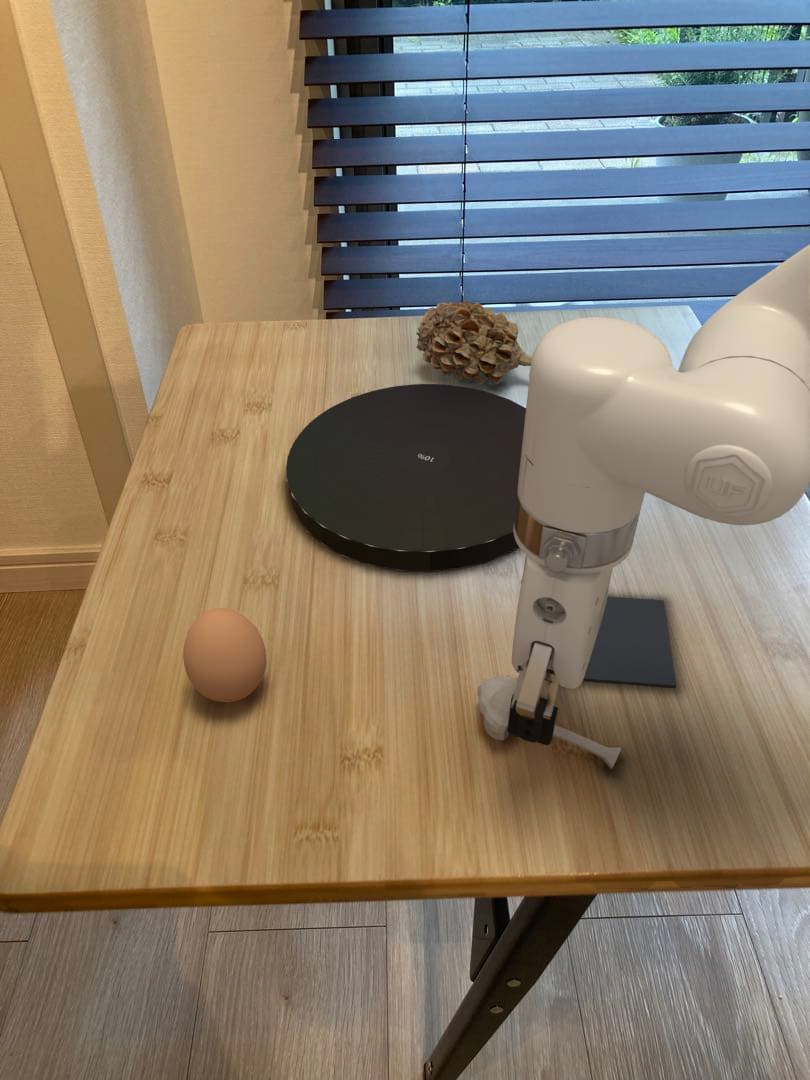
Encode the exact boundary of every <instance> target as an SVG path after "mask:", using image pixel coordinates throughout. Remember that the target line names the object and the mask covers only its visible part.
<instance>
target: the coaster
mask: <svg viewBox="0 0 810 1080" xmlns="http://www.w3.org/2000/svg"><path fill="white" fill-rule="evenodd" d="M584 681H586V682H598V683H609V684H624V685H638V686H651V687H663V688H677V679H676V673H675V667H674V660H673V652H672V646H671V640H670V632H669V627H668V620H667V614H666V606H665V600H664V599H649V598H636V597H623V596H622V597H621V596H607V601H606V606H605V610H604V614H603V617H602V621H601V624H600V627H599V631H598V634H597V637H596V641H595V644H594V647H593V651H592V654H591V657H590V660H589V663H588V667H587V670H586V673H585V676H584V678H583V682H584Z"/></svg>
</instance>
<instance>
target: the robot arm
mask: <svg viewBox="0 0 810 1080" xmlns="http://www.w3.org/2000/svg"><path fill="white" fill-rule="evenodd" d="M531 356H532V362H531V366H530V369H529V377H528V387H527V395H526V397H527V398H526V406H525V408H526V414H525V424H524V433H523V443H522V452H521V462H520V471H519V481H518V489H517V499H516V508H515V518H514V528H513V532H514V537H515V540H516V542H517V544H518V546H519V547H518V548H519V549H520V550H521V551H522V553H523V554H524V555H525V559H524V563H523V564H524V565H523V571H522V577H521V580H520V589H519V596H518V603H517V609H516V615H515V616H516V617H515V621H514V622H515V624H514V630H513V631H514V632H513V638H512V646H511V647H512V649H511V666H512V667H513V669H514V671H515V672H516V673H517V674H518V676H517V677H518V680H517V684H516V688H515V692H514V694H513V696H512V698H511V705H510V712H509V720H508V728H507V731H508V732H509V733H510V734H509V735H513V736H515V737H518V738H519V739H520V740H523V741H525V742H528V743H533V744H535V743H536V744H537V743H538V744H539V745H540V744H541V745H544V746H550V745H551V743H552V741H553V737H554V736H553V732H554V727H555V725H556V721H557V715H558V710H559V707H558V706H556V705H555V704H556V701H557V696H558V693H559V688H560V687H562V688H565V689H570V690H575V689H577V688H578V687H580V686H581V685H582V683H583V682H584V680H583V678H584V676H585V673H586V670H587V667H588V663H589V660H590V657H591V654H592V651H593V647H594V644H595V641H596V637H597V634H598V631H599V627H600V624H601V621H602V617H603V614H604V610H605V606H606V601H607V597H609V589H610V584H611V578H612V575H613V570H614V568H615V567H617V566H619V565H620V564H622V562H624V561H625V560H626V559H627V557H628V556H629V554H630V553H631V551H632V549H633V544H634V540H635V535H636V531H637V527H638V523H639V518H640V513H641V509H642V506H643V502H644V498H645V494H646V493H647V494H650V496H654V497H655V498H657V499H660V500H662V501H664V502H666V503H668V504H671V505H672V506H674V507H677V508H679V509H681V510H683V511H686V512H688V513H690V514H693V515H695V516H698V517H700V518H703V519H707V520H710V521H712V522H716V523H721V524H727V525H733V526H752V525H753V526H754V525H760V524H761V525H762V524H764V523H769V522H771V521H773V520H776V519H778V518H781V517H783V515H785V514H786V513H788V512H790V511H791V510H792V509H793V508H794V507H795V506H796V505H797V504H798V503H799V501H800V500H801V499H802V498H803V496H804V495H805V493H806V491H807V490H808V489H807V488H808V486H809V485H810V243H809V244H807V245H806V246H805V247H803V248H802V249H800V250H799V251H798V252H796V253H794V254H793V255H791V256H790V257H789V258H787V259H785V260H784V261H783V262H782V263H780V264H779V265H777V266H776V267H775V268H773V269H772V270H770V271H769V272H767V273H766V274H764V275H763V276H762V277H761V278H759V279H757V280H756V281H755V282H753V283H752V284H751V285H749V286H748V287H746V288H745V289H743V290H742V291H740V292H739V293H738V294H736V295H735V296H734V297H733V298H732V299H729V301H727V302H726V303H725V304H723V305H722V306H720V308H719V309H718V310H716V311H715V312H714V313H713V314H712V315H711V316H710V317H709V318H708V319H706V321H705V322H704V323H703V324H702V325H701V327H700V328H699V329H698V330H697V331H696V332H695V334H693V336H692V337H691V339H690V342H689V343H688V344H687V347H686V349H685V351H684V353H683V356H682V359H681V361H680V364H679V367H678V370H676V369H675V367H674V365H673V362H672V357H671V355H670V352H669V350H668V348H667V346H666V344H665V342H663V340H661V338H660V337H658V336H657V335H656V334H654V333H653V332H652V331H651V330H649V329H647V328H646V327H643V326H641V325H639V324H637V323H634V322H631V321H628V320H626V319H625V320H624V319H621V318H614V317H607V316H588V317H587V316H586V317H578V318H573V319H570V320H567V321H564V322H562V323H559V324H558V325H557V324H556V326H553V328H551V329H549V330H548V331H547V332H546V333H545V334H544V335H543V336H542V337H541V338H540V339H539V341H538V343H537V345H536V346H535V348H534V351H533V354H532V355H531ZM551 661H552V664H551ZM550 664H551V667H552V669H549V667H550ZM545 681H547V682H550V685H549V688H548V689H549V690H548V693H547V697H546V698H545V697H541V695H542V691H543V687H544V684H545Z"/></svg>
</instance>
